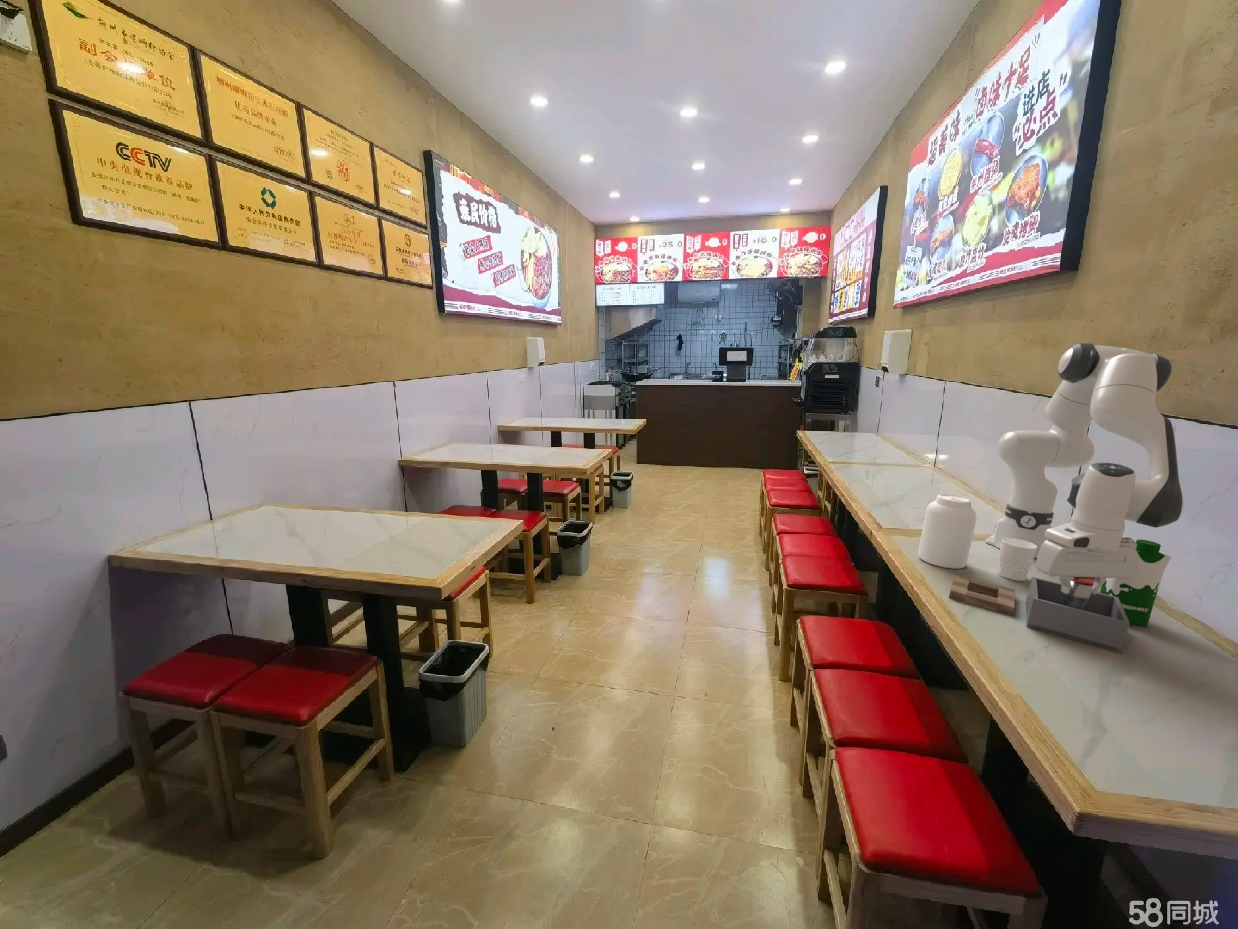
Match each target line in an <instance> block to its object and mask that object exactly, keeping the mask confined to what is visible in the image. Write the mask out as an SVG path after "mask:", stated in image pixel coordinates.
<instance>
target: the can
mask: <svg viewBox="0 0 1238 929" xmlns="http://www.w3.org/2000/svg"><path fill="white" fill-rule="evenodd" d="M976 512H977V511H976V510H975V509H974V508H973V507H972V502H971V500H970V499H968V498H966V497H964V496H961V495H956V494H950V493H949V494H948V493H941V494H938V495H937V496H936V498H935V500H934V501H932V502H931V503H929V504H928V505H927V506H926V510H925V516H924V521H923V526H922V532H921V536H920V541H919V545H918V546H919V547H918V552H917V555H918V558H919V559H920V560H923V561H924V562H926V563H928V564H931V565H934V566H936V567H940V568H943V569H944V568H945V569H953V570H954V569H957V570H960V569H963V568H965V567H966V566H967V564H968V559H969V555H970V549H971V545H972V541H973V536H974V531H975V527H976V522H977V514H976Z"/></svg>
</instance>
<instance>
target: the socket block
mask: <svg viewBox="0 0 1238 929" xmlns="http://www.w3.org/2000/svg"><path fill="white" fill-rule="evenodd" d="M1015 594H1016V589H1014V588H1009V587H1006V586H1002V585H998V584H994V583H990V582H987V581H983V580H979V579H975V578H971V577H968V576H964V575H959V574H956V573H955V574H954V578H953V581H952V585H951V587H950V591H949V595H948V598H949V599H951V600H955V601H959V602H963V603H966V604H969V605H974V606H978V607H980V608H985V609H987V610H992V611H995V612H999V613H1002V614H1005V615H1009V616H1011V617H1012V616H1014V611H1015V604H1016V603H1015V597H1016V596H1015Z"/></svg>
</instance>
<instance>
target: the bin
mask: <svg viewBox="0 0 1238 929" xmlns="http://www.w3.org/2000/svg"><path fill="white" fill-rule="evenodd" d="M1061 587H1062V583H1061V582H1056V581H1052V580H1047V579H1045V578H1039V577H1035V576H1031V580H1030V584H1029V588H1028V592H1027V596H1026V599H1025V600H1026V601H1025V616H1026V617H1025V620H1026V621H1025V622H1026V623H1025V625H1026V628H1030V629H1033V630H1037V631H1040V632H1043V633H1047V634H1051V635H1054V636H1058V637H1062V638H1065V639H1067V640H1071V641H1075V642H1079V643H1081V644H1085V645H1086V644H1087V645H1088V646H1092V647H1094V648H1095V647H1096V648H1100V649H1103V650H1105V651H1106V650H1107V651H1110V652H1114V653H1117V654H1119V655H1120V654H1121V655H1122V651H1123V647H1124V645H1125V641H1126V639H1127V638H1126V637H1127V635H1128V631H1129V628H1130V625H1131V624H1130V623H1129V621H1128V618H1127V616H1126V614H1125V611H1124V609H1123V607H1122V605H1121V602H1120V600H1119V598H1118V597H1115V596H1111V595H1106V594H1102V593H1100V592H1099V591H1097V593H1096V595H1090V598H1089V602H1088V606H1087V609H1086V611H1084V610H1080V609H1076V608H1072V607H1068V606H1064V605H1063V603H1064V599H1065V596H1066V594H1065V593H1063V592H1062V591H1061Z"/></svg>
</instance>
